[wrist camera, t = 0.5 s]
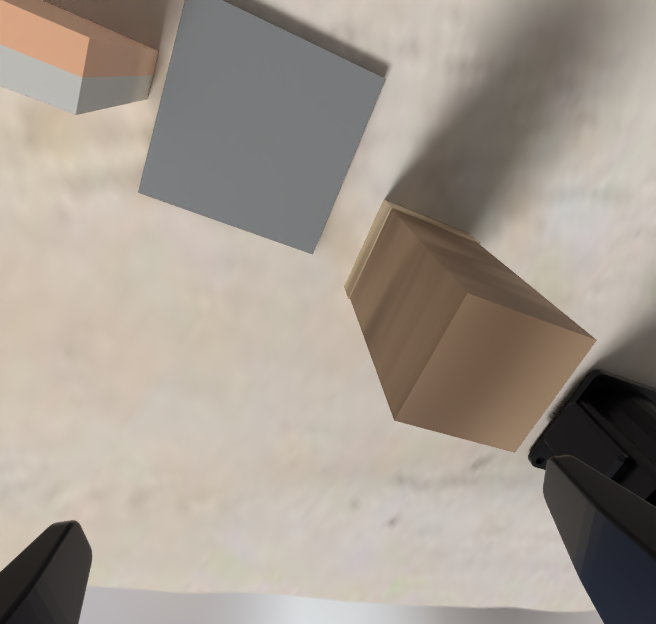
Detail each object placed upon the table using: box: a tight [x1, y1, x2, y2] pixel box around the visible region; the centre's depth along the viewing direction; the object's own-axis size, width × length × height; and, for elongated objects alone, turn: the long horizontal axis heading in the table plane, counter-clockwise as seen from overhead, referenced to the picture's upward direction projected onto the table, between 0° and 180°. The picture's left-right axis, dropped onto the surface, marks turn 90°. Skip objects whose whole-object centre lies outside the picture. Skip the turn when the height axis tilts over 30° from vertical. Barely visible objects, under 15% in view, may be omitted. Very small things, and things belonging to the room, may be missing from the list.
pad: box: [138, 0, 385, 254], centre depth 17 cm, size 7×7×1 cm
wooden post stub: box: [344, 200, 596, 452], centre depth 16 cm, size 4×4×9 cm
